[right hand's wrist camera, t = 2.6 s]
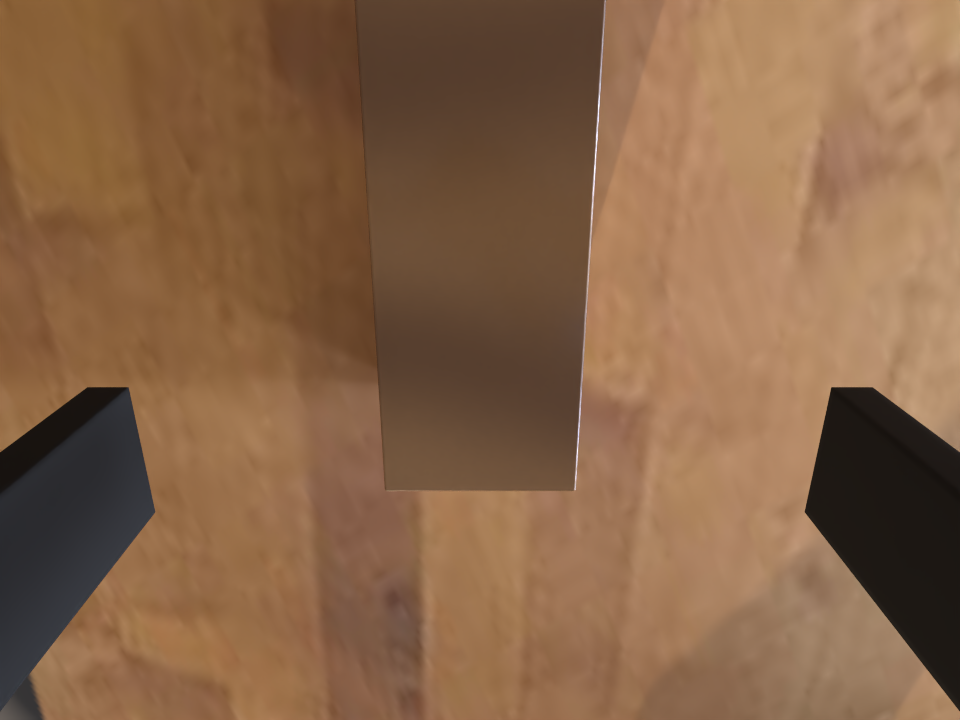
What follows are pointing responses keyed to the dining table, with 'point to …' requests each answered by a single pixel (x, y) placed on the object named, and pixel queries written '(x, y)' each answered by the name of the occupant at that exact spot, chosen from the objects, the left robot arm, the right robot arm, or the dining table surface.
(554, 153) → the post
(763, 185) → the dining table surface
